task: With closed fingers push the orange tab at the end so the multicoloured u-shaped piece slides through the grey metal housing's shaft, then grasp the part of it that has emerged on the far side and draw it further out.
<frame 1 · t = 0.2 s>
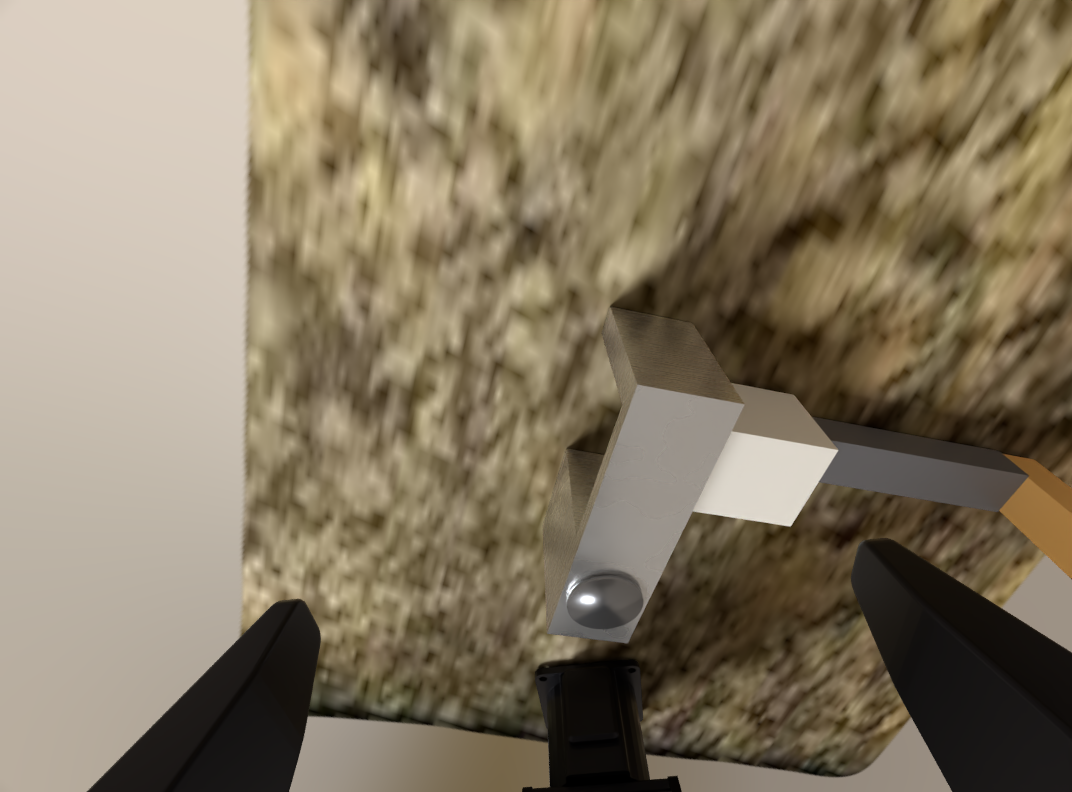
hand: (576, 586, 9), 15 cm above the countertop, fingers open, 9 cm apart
housing: (621, 401, 24), on the countertop
multicoloured u-shaped piece: (919, 517, 22), point 5 cm above the countertop, slide at 0.0 cm
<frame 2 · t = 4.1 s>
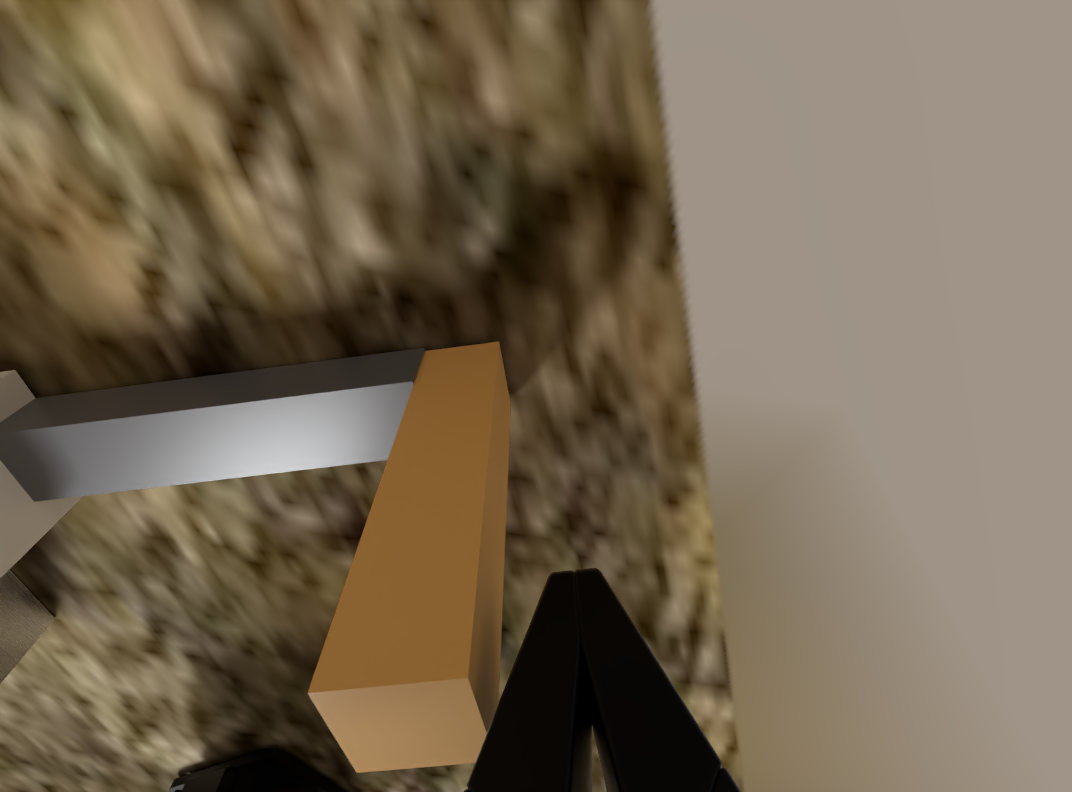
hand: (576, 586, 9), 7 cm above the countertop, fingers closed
multicoloured u-shaped piece: (88, 532, 12), point 5 cm above the countertop, slide at 0.3 cm, touching gripper
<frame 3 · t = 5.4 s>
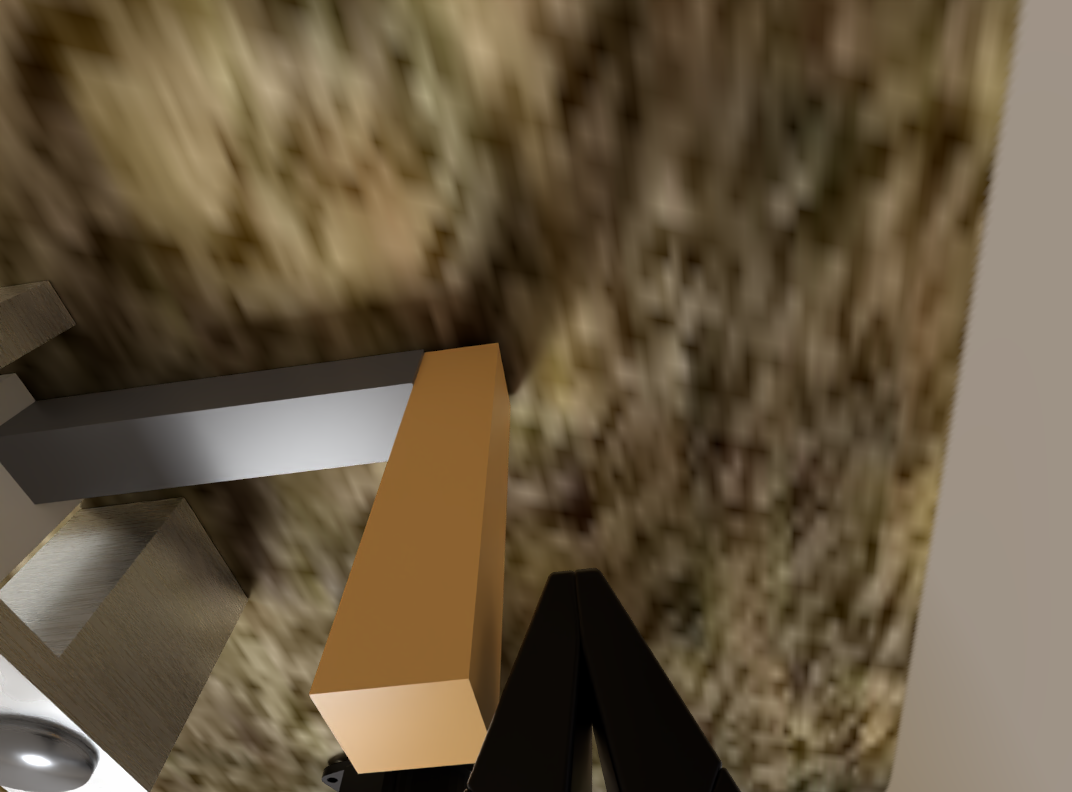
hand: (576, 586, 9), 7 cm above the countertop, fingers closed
housing: (78, 426, 16), on the countertop
multicoloured u-shaped piece: (89, 535, 12), point 5 cm above the countertop, slide at 7.7 cm, touching gripper
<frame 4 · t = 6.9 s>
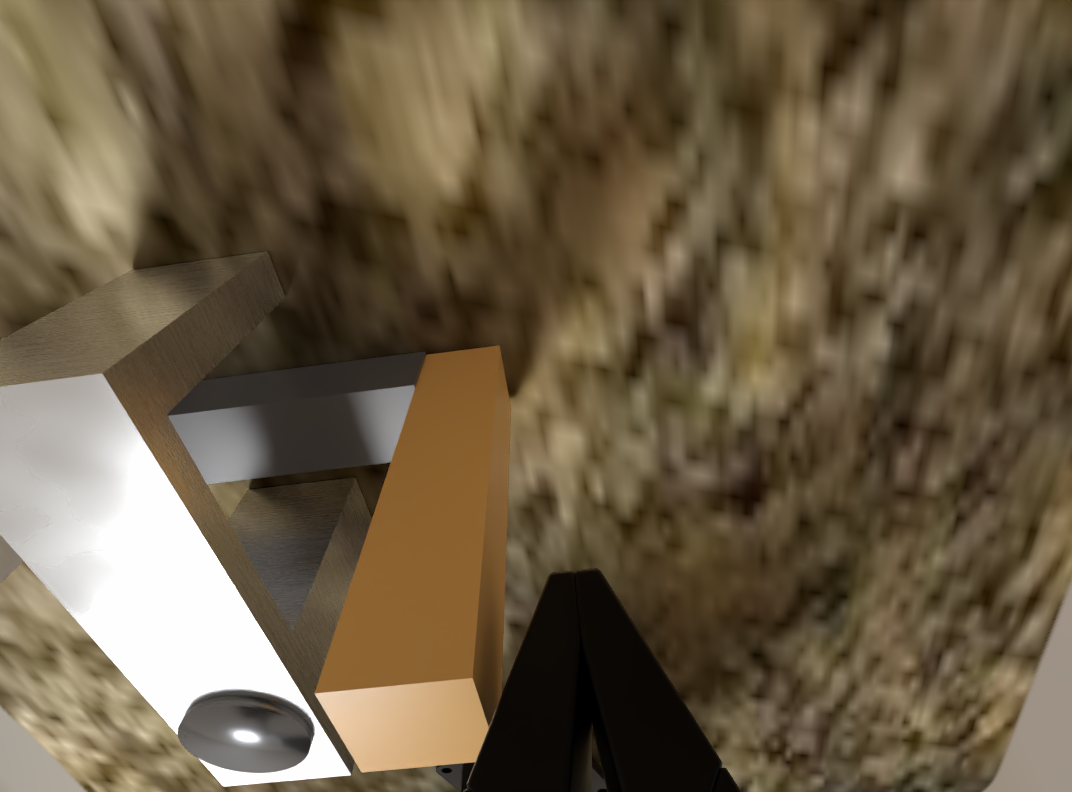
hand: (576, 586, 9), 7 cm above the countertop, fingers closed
housing: (264, 403, 16), on the countertop
multicoloured u-shaped piece: (92, 535, 12), point 5 cm above the countertop, slide at 13.3 cm, touching gripper
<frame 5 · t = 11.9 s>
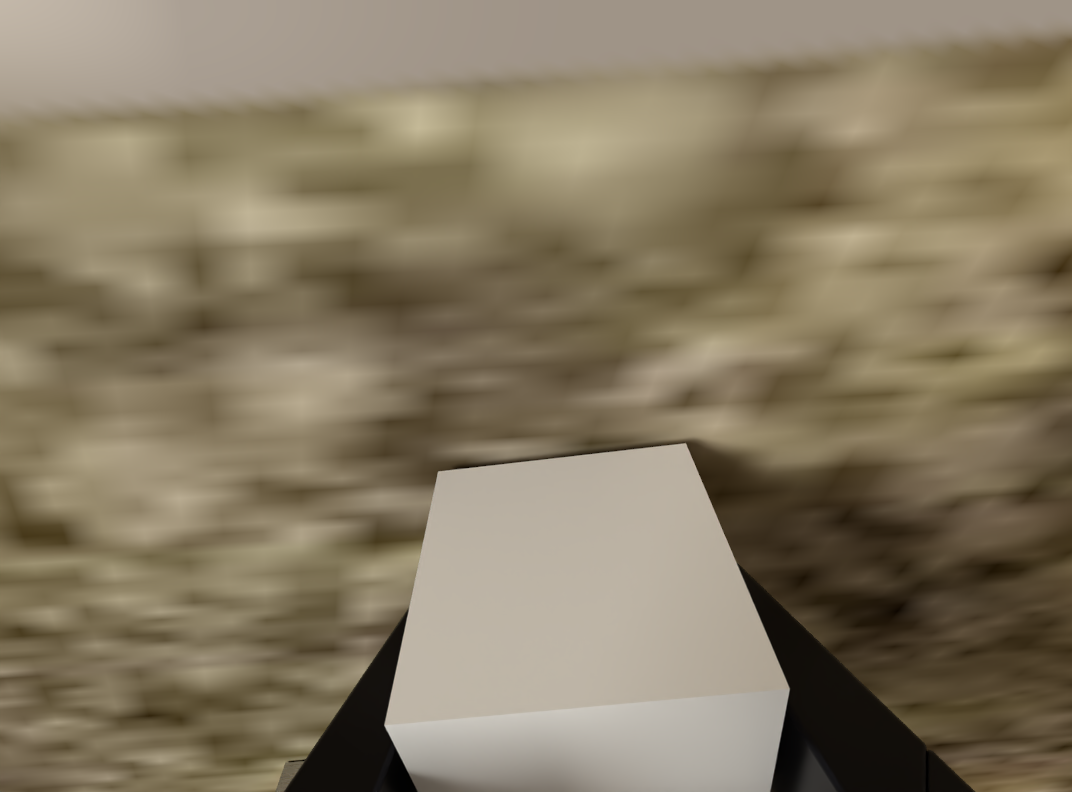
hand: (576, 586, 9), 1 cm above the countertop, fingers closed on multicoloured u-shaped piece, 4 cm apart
housing: (603, 770, 14), on the countertop
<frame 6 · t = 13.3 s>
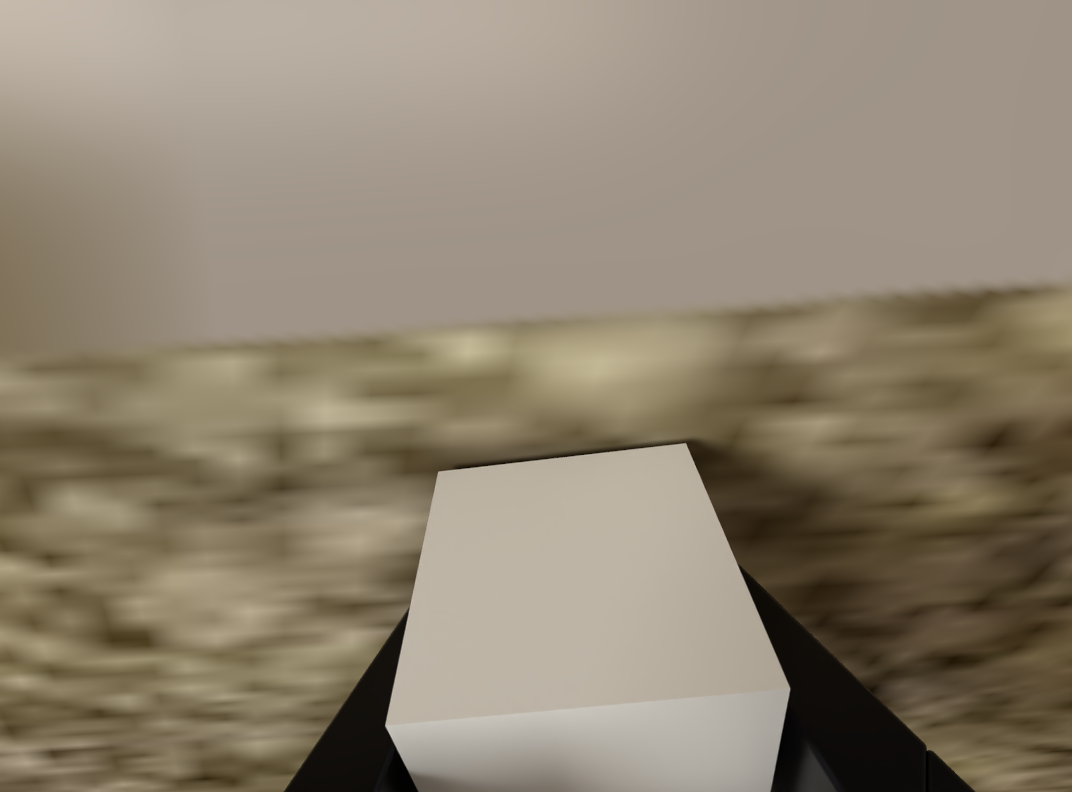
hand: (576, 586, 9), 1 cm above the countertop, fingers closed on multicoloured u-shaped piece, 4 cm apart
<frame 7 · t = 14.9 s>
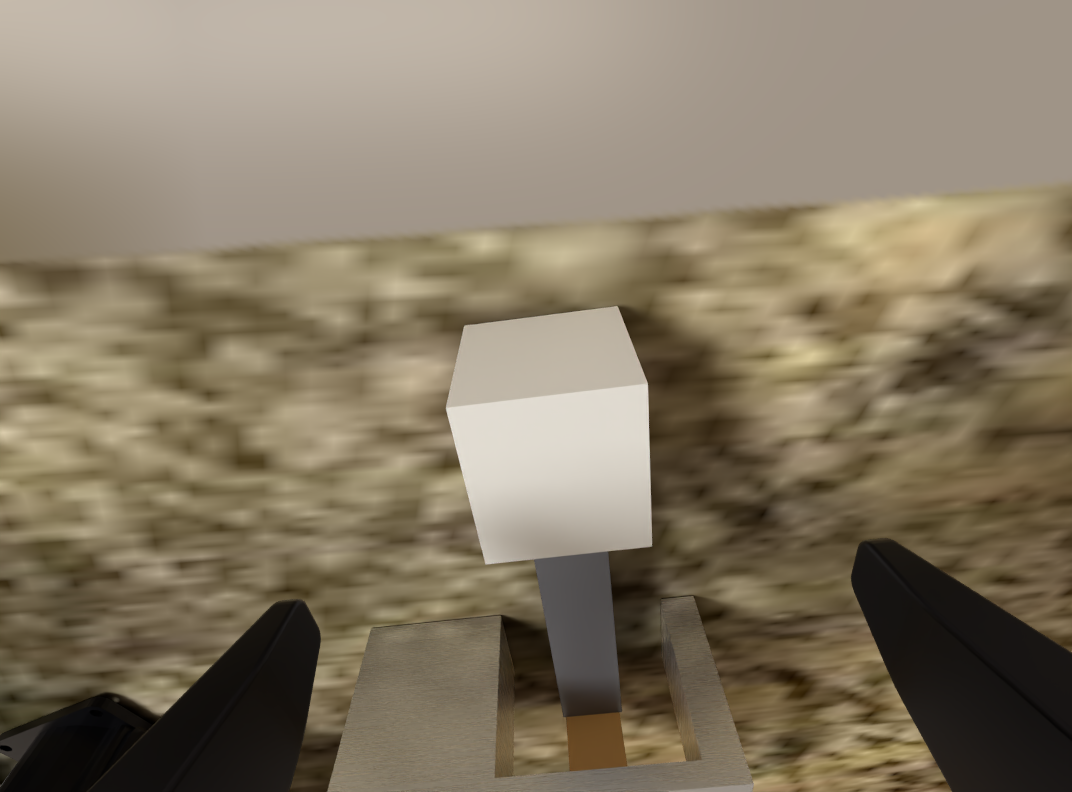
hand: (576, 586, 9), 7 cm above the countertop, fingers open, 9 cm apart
housing: (584, 636, 21), on the countertop
multicoloured u-shaped piece: (585, 684, 15), point 5 cm above the countertop, slide at 16.4 cm
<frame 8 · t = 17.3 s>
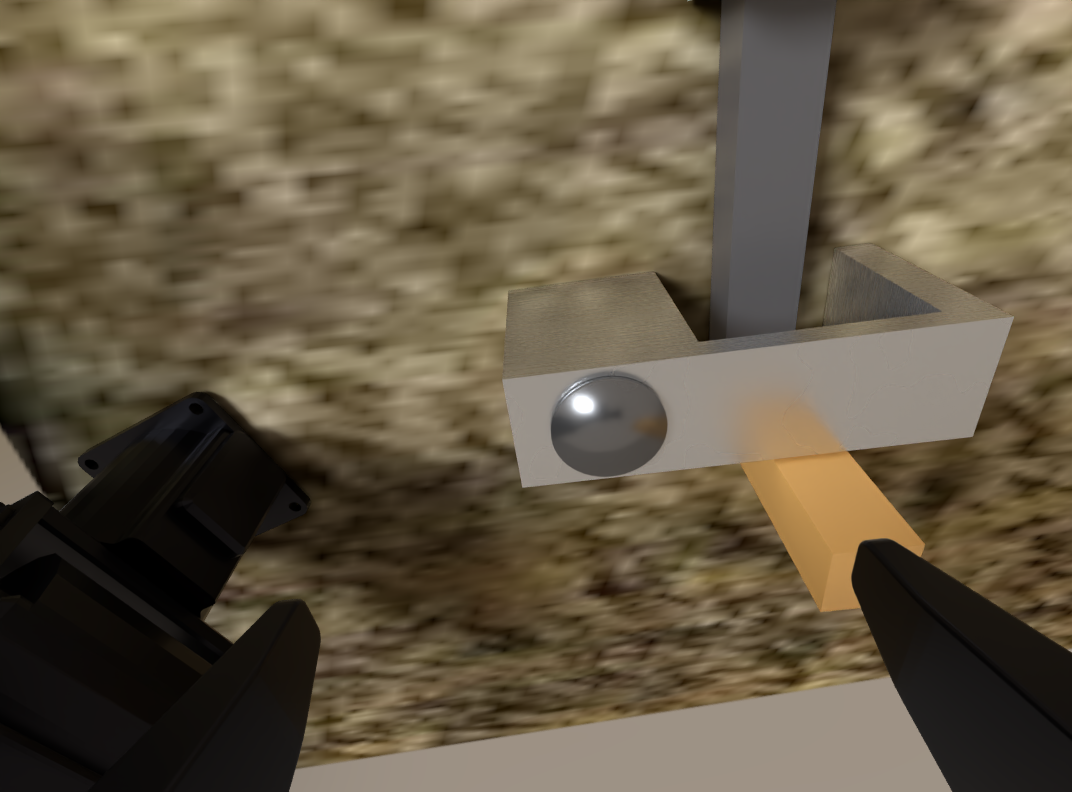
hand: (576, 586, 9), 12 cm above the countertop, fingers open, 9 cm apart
housing: (740, 308, 19), on the countertop
multicoloured u-shaped piece: (823, 191, 13), point 5 cm above the countertop, slide at 16.4 cm
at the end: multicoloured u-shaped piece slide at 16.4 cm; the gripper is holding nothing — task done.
